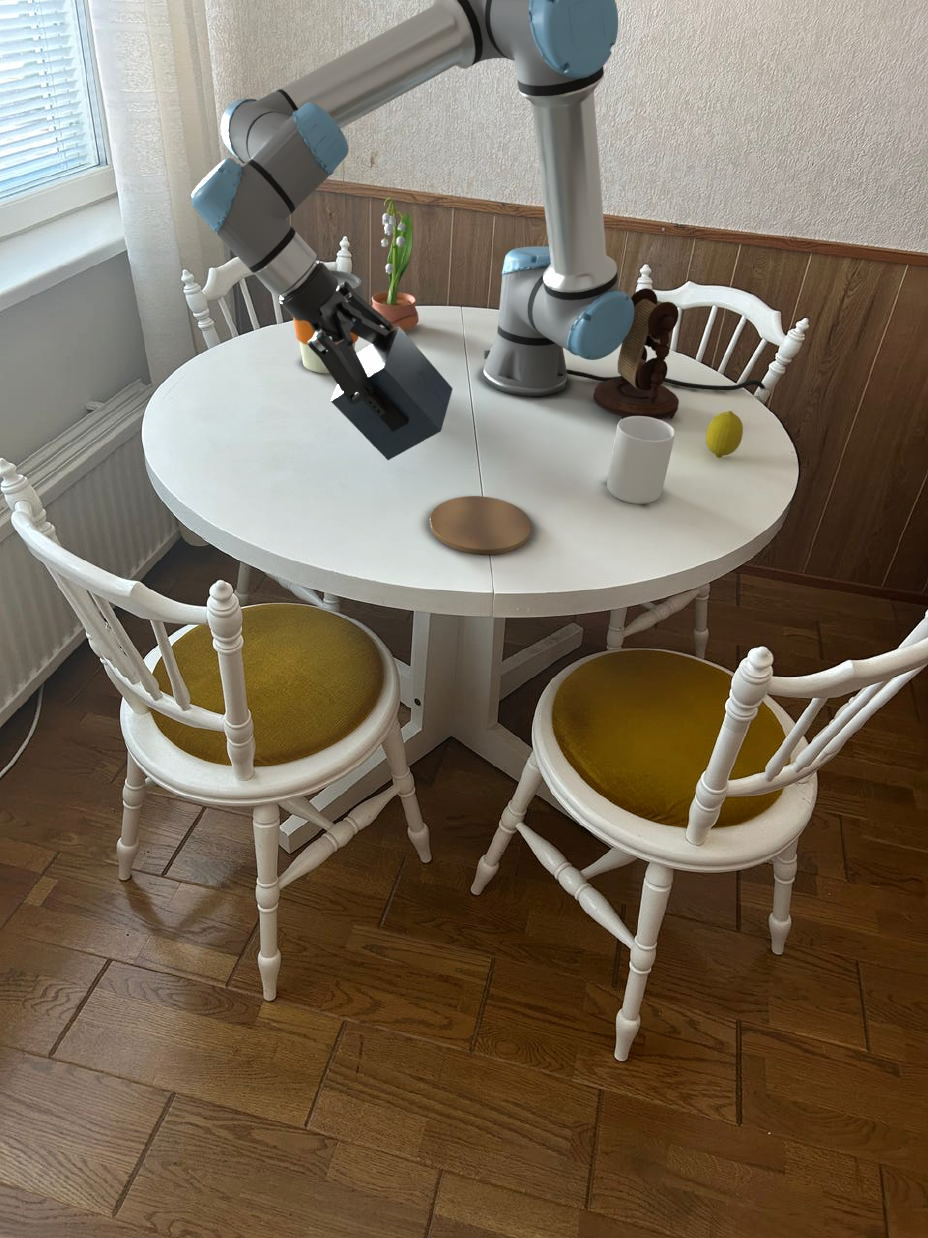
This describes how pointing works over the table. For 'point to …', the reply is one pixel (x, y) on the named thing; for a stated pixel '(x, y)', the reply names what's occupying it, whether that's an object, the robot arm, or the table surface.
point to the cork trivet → (480, 525)
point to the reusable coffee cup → (306, 332)
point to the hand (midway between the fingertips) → (408, 402)
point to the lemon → (724, 434)
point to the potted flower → (397, 273)
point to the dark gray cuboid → (399, 394)
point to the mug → (640, 459)
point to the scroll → (642, 364)
